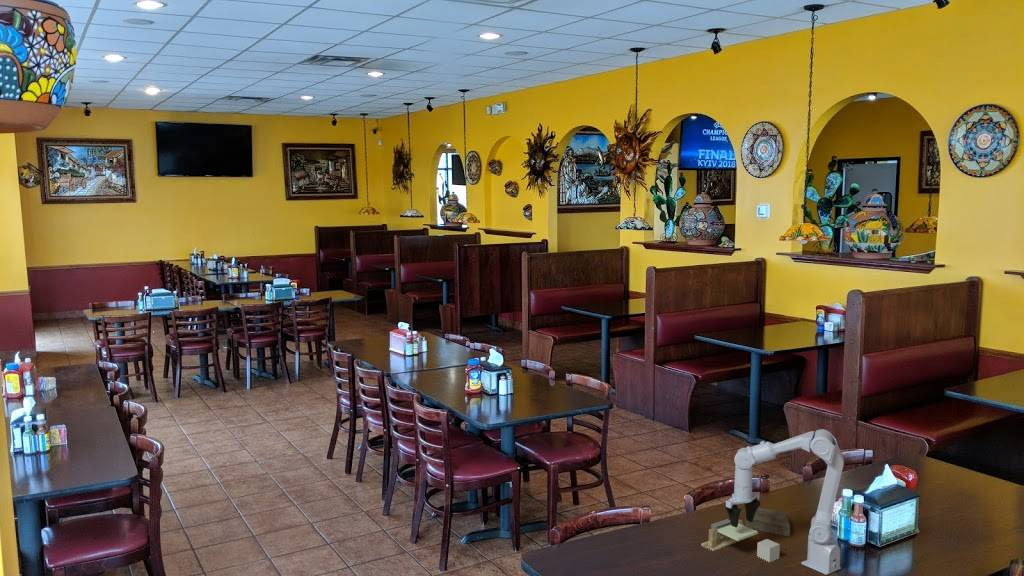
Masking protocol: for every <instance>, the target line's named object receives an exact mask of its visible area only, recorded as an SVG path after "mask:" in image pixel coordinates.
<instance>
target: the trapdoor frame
mask: <svg viewBox="0 0 1024 576" xmlns="http://www.w3.org/2000/svg"><path fill="white" fill-rule="evenodd" d="M743 522H744V521H743V520H742V519H739V521H738V523H739V524H742V525H744V523H743ZM729 525H731V524H729ZM729 525H726V526H729ZM726 526H723V527H726ZM723 527H720V528H723ZM720 528H717V529H720ZM717 529H712V528H709V529H708V541H705V542H702V543H701V545H700V546H701V547H702V548H704V549H707V548H708V549H707V550H709V549H710V550H709V551H711V550H712V551H711V552H713V551H717V550H720V549H722V547H723V548H725V546H726V547H727V546H730V545H731V546H732V545H734V544H736V542H737V543H739V542H742V541H743V540H744V539H742V541H741V540H739V541H737V540H735V539H732V538H730V537H728V536H726V535H724V534H721V533H719V532H717Z"/></svg>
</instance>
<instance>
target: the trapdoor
mask: <svg viewBox="0 0 1024 576" xmlns="http://www.w3.org/2000/svg"><path fill="white" fill-rule="evenodd" d="M729 524H731V522H730V519H728V518H725V519H724V520H720V521H717V522H713V523H711V526H710V529H717V528H720V527H723V526H726V525H729ZM717 532H719V533H721V535H723V534H724V535H726V536H728V537H730V538H732V539H735V540H737V541H739V540H742V539H743V540H744V539H747V538H748V539H749V538H750V537H753V536H756V535H758V534H759V531H757V530H753V529H751V528H749V527H747V526H746V525H744V524H743V525H742V524H739V523H738V527H733V526H731V525H729V526H726V527H723V528H720V529H717ZM743 540H742V541H743ZM739 542H740V541H739Z"/></svg>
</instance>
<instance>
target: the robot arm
mask: <svg viewBox="0 0 1024 576" xmlns="http://www.w3.org/2000/svg"><path fill="white" fill-rule="evenodd" d="M799 449H801V450H804V451H806V452H807V453H810V452H813V454H814V455H816V456H818V457H819V458H820V459H821V460H823V461H824V462H825V464H826V465H827V466H826V471H825V476H824V479H823V480H824V481H823V485H822V488H821V492H820V496H819V502H818V505H817V509H816V513H815V514H814V516H813V517H812V518H811V521H810V528H809V530H808V531H809V533H808V537H807V538H808V539H807V555H806V556H807V557H806V558H807V559H806V560H803V561H801V562H800V563H801V565H803V566H805V567H808V568H810V569H812V570H814V571H817V572H818V573H822V574H823V575H825V576H826V575H829V574H832V573H835V572H836V571H839V570H841V569H842V567H841V547H840V546H839V545H837V544H836V543H835V542H834V541H833V537H832V536H831V531H832V524H833V523H832V515H833V513H834V511H833V510H834V506H835V503H836V499H837V494H838V490H839V486H840V482H841V477H842V474H843V469H844V464H845V461H844V460H845V459H844V456H843V454H842V452H841V448H840V447H839V445H838V441H837V439H836V437H835V436H834V435H833V434H832V432H830V431H829V430H827V429H823V428H822V429H821V428H820V429H817V430H816V431H814V430H811V431H807V432H804V433H803V434H802V433H801V434H799V435H796V436H793V437H791V438H787V439H785V440H782V441H778V442H775V443H772V442H770V441H766V442H765V440H762V441H760V443H759V444H756V445H753V446H750V445H748V446H746V447H741V448H739V449H738V450H737V451H736V454H735V456H734V458H733V459H734V460H733V461H734V464H735V466H734V468H735V470H734V484H733V487H734V488H733V493H731V497H730V498H729V499H728V500H725V504H724V508H725V510H726V512H727V514H728V517H729V520H730V522H731V526H733V527H738V521H739V518H740V516H741V512H742V511H743V509H742V508H739V507H738V505H742V504H744V509H745V512H746V514H745V519H746V520H747V521H749V522H753V519H754V516H755V513H756V510H757V508H760V506H761V502H760V493H758V492H756V491H753V477H754V476H753V473H754V472H753V465H757V464H760V463H764V462H768V461H771V460H775V459H776V458H777V455H778V454H782V453H787V452H791V451H795V450H799ZM746 520H745V521H746Z"/></svg>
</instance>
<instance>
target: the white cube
mask: <svg viewBox="0 0 1024 576" xmlns="http://www.w3.org/2000/svg"><path fill="white" fill-rule="evenodd" d="M756 546H757V547H756V548H757V549H756V557H757V556H758V557H757V558H759V557H760V558H759V559H761V558H762V559H761V560H763V559H764V560H763V561H765V560H766V561H765V562H767V561H768V562H767V563H769V562H770V563H772V562H774V560H775V561H776V559H777V560H779V559H780V548H781V547H780V546H781V544H780V543H777V542H775V541H773V540H772V539H771V540H770V539H769V538H766V539H763V540H761V541H758V542H757V545H756ZM771 561H772V562H771Z"/></svg>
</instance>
